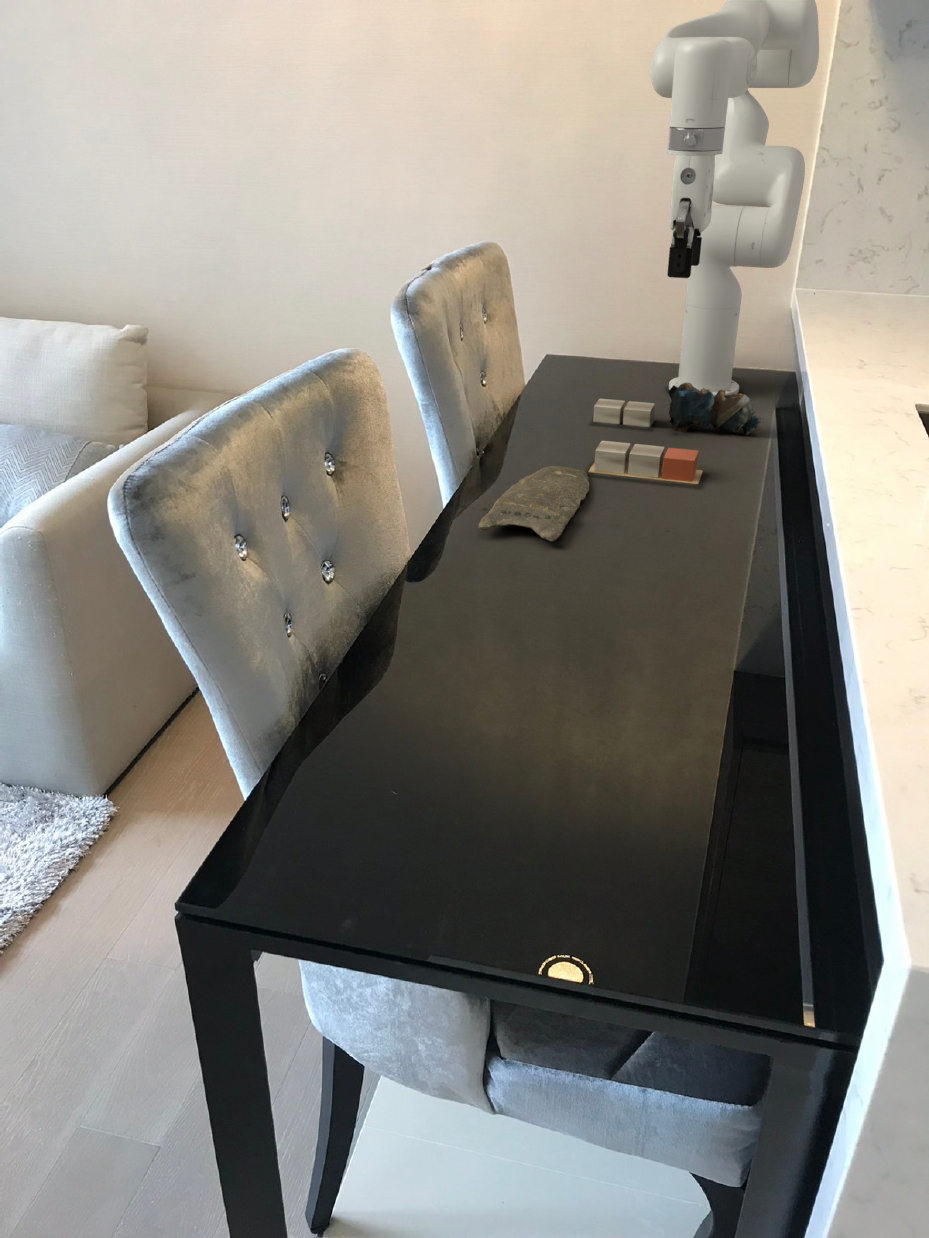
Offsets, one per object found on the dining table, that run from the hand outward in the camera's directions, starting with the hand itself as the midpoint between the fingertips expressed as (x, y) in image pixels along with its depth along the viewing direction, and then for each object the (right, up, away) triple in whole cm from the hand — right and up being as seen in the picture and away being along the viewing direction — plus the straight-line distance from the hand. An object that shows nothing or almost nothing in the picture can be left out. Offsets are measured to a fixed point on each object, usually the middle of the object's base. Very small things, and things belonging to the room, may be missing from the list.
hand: (683, 271), depth 146 cm
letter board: (-5, -30, +1) cm, 30 cm away
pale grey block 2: (-3, -18, +21) cm, 28 cm away
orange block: (-1, -30, -1) cm, 30 cm away
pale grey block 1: (-10, -28, +2) cm, 30 cm away
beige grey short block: (-8, -18, +22) cm, 29 cm away
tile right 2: (-5, -29, +1) cm, 30 cm away
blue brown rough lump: (+8, -21, +17) cm, 28 cm away
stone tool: (-21, -36, -9) cm, 43 cm away
